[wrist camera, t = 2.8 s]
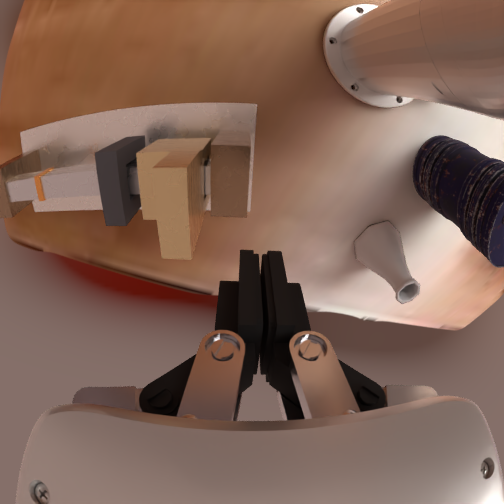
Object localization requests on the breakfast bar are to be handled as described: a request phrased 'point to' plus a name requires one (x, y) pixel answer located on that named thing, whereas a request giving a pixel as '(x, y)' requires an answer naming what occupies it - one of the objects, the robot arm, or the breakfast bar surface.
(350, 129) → the breakfast bar surface
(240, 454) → the robot arm
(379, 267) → the flask
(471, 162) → the storage jar
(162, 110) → the pipe rig
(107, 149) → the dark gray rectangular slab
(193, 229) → the wooden block
